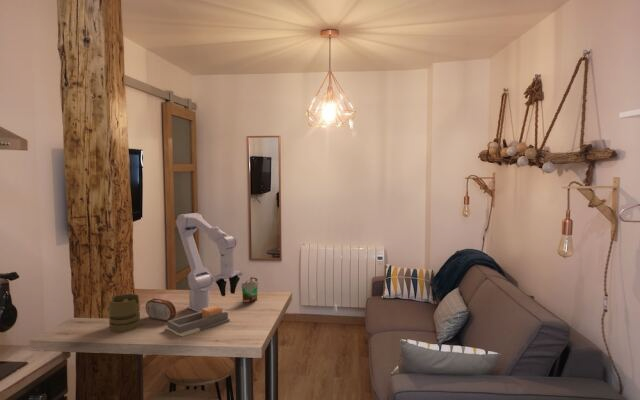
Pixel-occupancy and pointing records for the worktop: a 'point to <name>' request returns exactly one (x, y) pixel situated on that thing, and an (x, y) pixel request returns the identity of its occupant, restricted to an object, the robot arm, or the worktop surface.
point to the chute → (195, 323)
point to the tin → (160, 309)
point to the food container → (250, 290)
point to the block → (211, 311)
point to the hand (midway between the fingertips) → (227, 294)
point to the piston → (124, 313)
